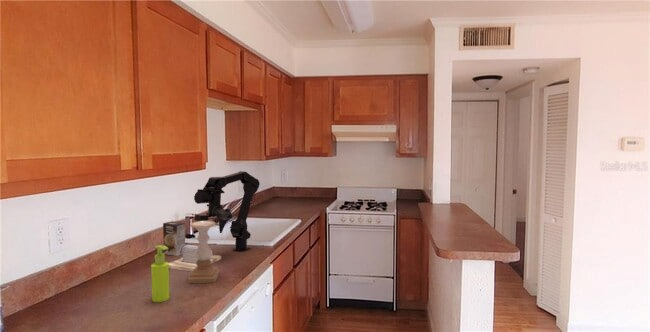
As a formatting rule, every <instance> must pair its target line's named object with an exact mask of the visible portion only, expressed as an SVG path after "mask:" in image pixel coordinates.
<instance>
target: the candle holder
mask: <svg viewBox="0 0 650 332" xmlns="http://www.w3.org/2000/svg"><path fill="white" fill-rule="evenodd" d="M216 224H217V223H216V222H215V221H214V220H207V221H196V220H195V221H193V222H191V223H190V227H191V228H193V229H196V230H197V231H198V234H197V235H198V236H197V237H196V240H197V241H198V245H197V246H198V248H197V250H196V251H195V258H196V259H198V261H197V262H196V265H197V266H198V267H196V268H195V269H194V270H193V271H192V272H191V273H190V275H189V276H188V278H187V284H213V283H216V281H217V279H218V277H219V275H220V270H219V268H218V267H217V266H212V265H211V260H210V259H209V258H211V257H212V255H214V254H213V250H212V248H211V247H210V246H209V244H208V242H209V239H210V236H209V234H208V231H209V230H210V228H212V227H214V226H216Z"/></svg>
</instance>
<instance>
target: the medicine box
mask: <svg viewBox="0 0 650 332" xmlns="http://www.w3.org/2000/svg"><path fill="white" fill-rule="evenodd" d="M198 246H199V245H195V244H194V245H192V244H185V246H184V247H182V254H181V256H182V258H183V262H185V263H193V264H196V262H197V261H198V259H196V258H195V251H196V250H197V248H198Z"/></svg>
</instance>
